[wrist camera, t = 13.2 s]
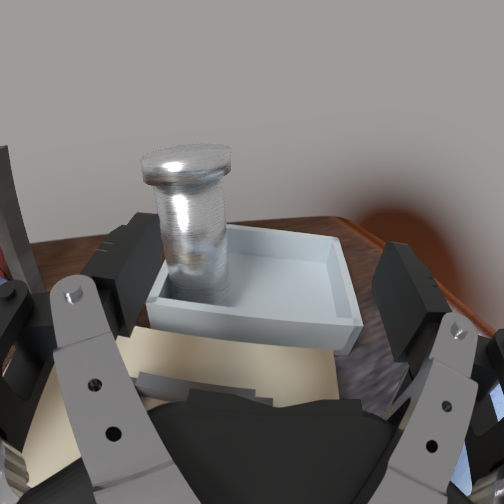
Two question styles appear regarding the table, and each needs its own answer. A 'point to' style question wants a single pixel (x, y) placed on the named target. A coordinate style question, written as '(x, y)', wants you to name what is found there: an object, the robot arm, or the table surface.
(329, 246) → the tray
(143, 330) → the dolly
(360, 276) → the table surface
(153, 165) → the pin
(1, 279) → the geometric puzzle
